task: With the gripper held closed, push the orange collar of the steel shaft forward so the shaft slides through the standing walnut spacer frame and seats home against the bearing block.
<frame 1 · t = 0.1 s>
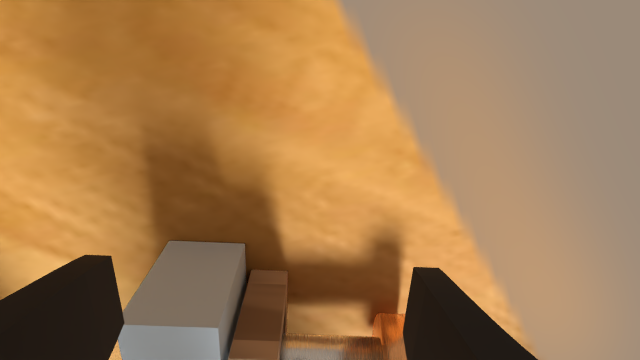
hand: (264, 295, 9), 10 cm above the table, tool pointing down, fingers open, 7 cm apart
bearing block: (213, 315, 23), on the table
spacer: (269, 316, 23), on the table
shaft: (302, 359, 20), point 3 cm above the table, slide at 5.0 cm
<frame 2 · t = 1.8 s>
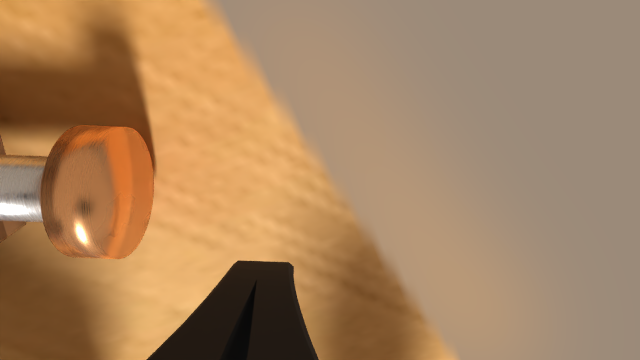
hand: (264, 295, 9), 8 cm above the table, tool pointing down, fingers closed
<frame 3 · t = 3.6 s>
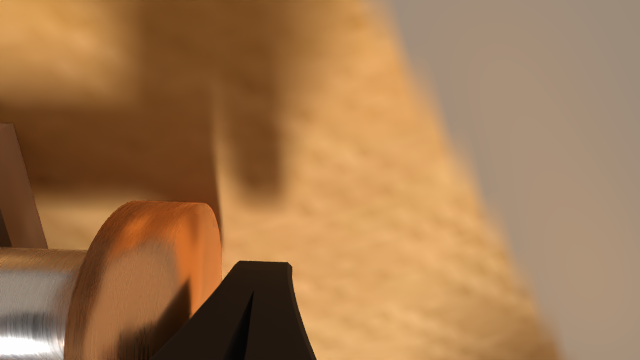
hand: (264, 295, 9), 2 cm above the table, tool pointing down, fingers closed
spacer: (9, 230, 12), on the table
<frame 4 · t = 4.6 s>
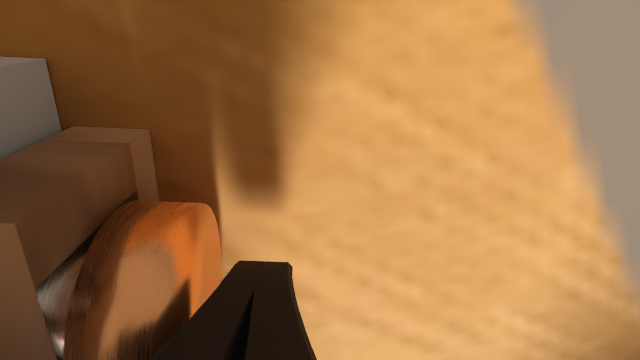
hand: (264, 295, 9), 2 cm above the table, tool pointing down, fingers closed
bearing block: (16, 231, 11), on the table
spacer: (130, 234, 12), on the table
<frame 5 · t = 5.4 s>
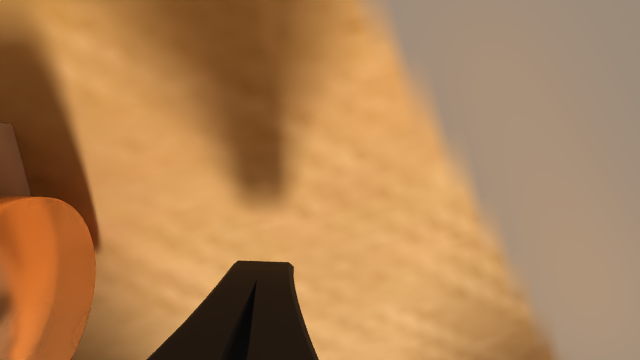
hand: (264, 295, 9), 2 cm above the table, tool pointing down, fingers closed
spacer: (7, 229, 12), on the table
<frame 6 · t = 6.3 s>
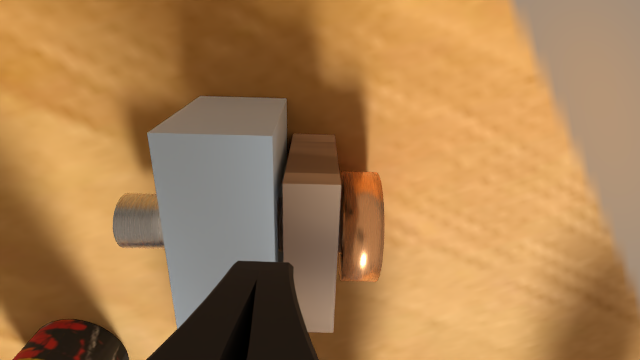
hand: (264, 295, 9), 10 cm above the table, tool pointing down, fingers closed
bearing block: (248, 194, 20), on the table
spacer: (312, 195, 20), on the table
shaft: (251, 223, 17), point 3 cm above the table, slide at 0.3 cm
deodorant: (82, 353, 25), on the table
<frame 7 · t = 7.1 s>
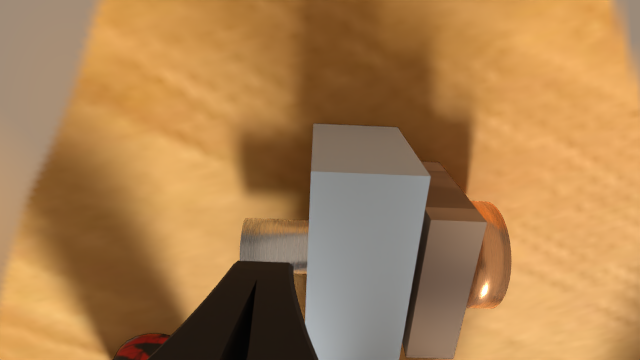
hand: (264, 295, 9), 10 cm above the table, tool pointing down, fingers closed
bearing block: (347, 217, 20), on the table
spacer: (409, 219, 21), on the table
shaft: (365, 249, 18), point 3 cm above the table, slide at 0.3 cm
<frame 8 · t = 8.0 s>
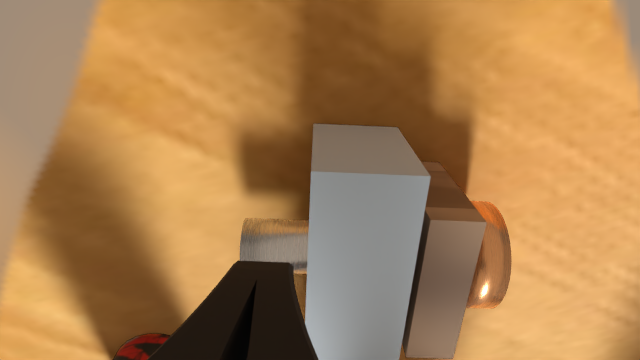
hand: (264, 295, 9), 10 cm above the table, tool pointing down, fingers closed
bearing block: (347, 217, 20), on the table
spacer: (409, 219, 21), on the table
shaft: (365, 249, 18), point 3 cm above the table, slide at 0.3 cm
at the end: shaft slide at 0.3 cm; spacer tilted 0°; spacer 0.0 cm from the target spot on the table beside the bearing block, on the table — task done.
